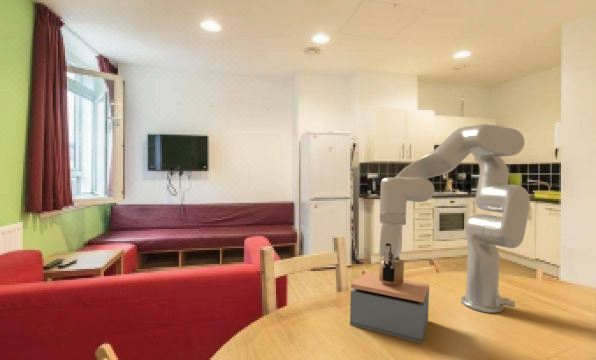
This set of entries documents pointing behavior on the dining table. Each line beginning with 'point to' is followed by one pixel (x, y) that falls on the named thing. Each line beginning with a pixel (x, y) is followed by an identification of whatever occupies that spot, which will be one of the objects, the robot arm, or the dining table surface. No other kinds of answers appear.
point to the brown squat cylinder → (397, 272)
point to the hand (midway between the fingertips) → (391, 276)
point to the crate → (389, 314)
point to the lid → (392, 287)
